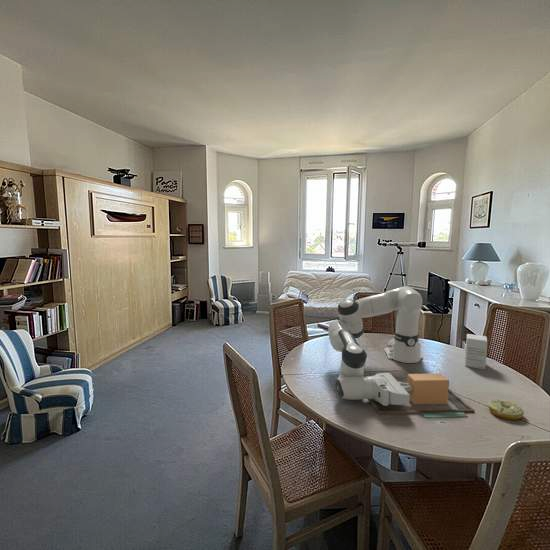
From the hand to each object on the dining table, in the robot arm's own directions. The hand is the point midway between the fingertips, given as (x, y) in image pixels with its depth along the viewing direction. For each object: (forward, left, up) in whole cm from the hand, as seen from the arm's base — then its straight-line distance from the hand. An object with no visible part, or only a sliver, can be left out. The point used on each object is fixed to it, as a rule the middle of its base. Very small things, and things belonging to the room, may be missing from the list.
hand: (410, 386), depth 129 cm
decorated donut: (+10, +32, -7) cm, 34 cm away
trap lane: (0, +2, -6) cm, 6 cm away
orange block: (-1, +7, -6) cm, 9 cm away
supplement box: (-35, +50, -6) cm, 61 cm away
